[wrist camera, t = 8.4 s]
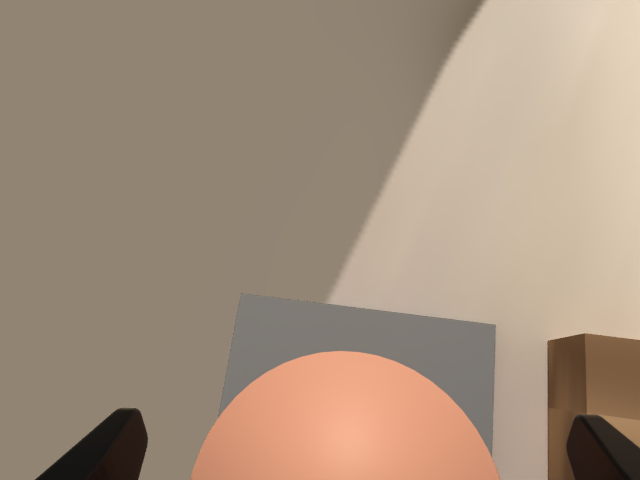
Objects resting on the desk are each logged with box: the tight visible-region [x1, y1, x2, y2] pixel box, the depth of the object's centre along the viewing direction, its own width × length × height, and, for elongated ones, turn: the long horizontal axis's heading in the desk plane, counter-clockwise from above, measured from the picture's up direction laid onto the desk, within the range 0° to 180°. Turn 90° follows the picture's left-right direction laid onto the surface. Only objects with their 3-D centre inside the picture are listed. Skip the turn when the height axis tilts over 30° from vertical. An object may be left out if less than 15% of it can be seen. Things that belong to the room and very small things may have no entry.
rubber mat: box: [218, 293, 496, 458], centre depth 17 cm, size 10×10×1 cm
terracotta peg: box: [191, 351, 500, 480], centre depth 12 cm, size 4×4×11 cm
